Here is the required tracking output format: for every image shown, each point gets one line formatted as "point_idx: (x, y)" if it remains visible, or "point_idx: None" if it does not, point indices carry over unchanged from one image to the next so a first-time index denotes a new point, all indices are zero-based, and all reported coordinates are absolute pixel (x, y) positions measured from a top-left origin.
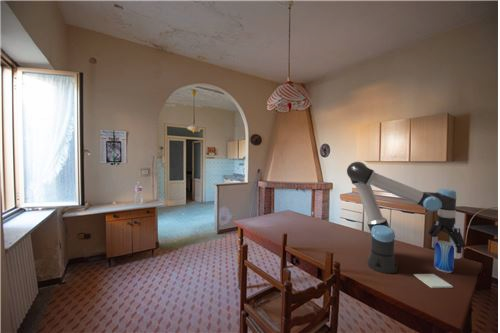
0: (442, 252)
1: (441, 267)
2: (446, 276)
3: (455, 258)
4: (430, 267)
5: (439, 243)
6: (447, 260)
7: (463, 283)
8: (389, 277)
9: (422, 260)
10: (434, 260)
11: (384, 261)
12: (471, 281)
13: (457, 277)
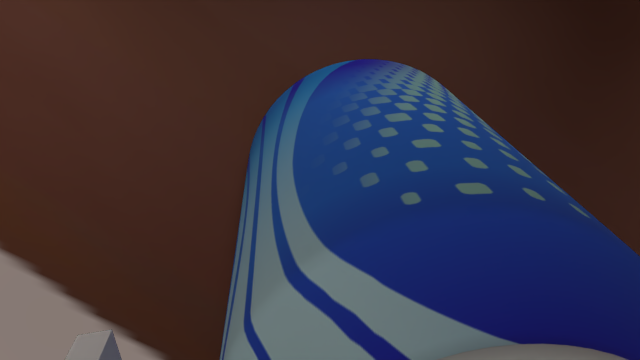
0: (282, 217)
1: (284, 100)
2: (155, 68)
3: (79, 339)
4: (409, 6)
5: (477, 349)
6: (241, 222)
7: (7, 171)
8: None
9: (636, 32)
10: (429, 85)
11: None
12: (95, 301)
13: (161, 203)
